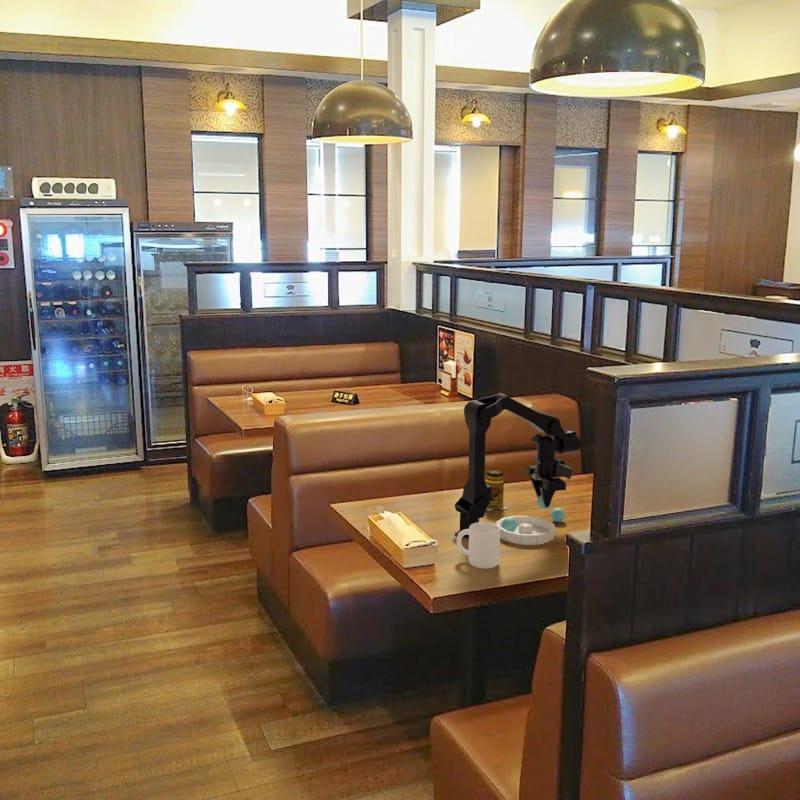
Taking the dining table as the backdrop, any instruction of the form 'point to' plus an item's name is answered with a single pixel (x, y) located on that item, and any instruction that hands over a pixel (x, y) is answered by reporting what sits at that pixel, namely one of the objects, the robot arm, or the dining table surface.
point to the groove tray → (528, 539)
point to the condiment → (496, 489)
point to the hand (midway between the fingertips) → (544, 504)
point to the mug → (481, 544)
